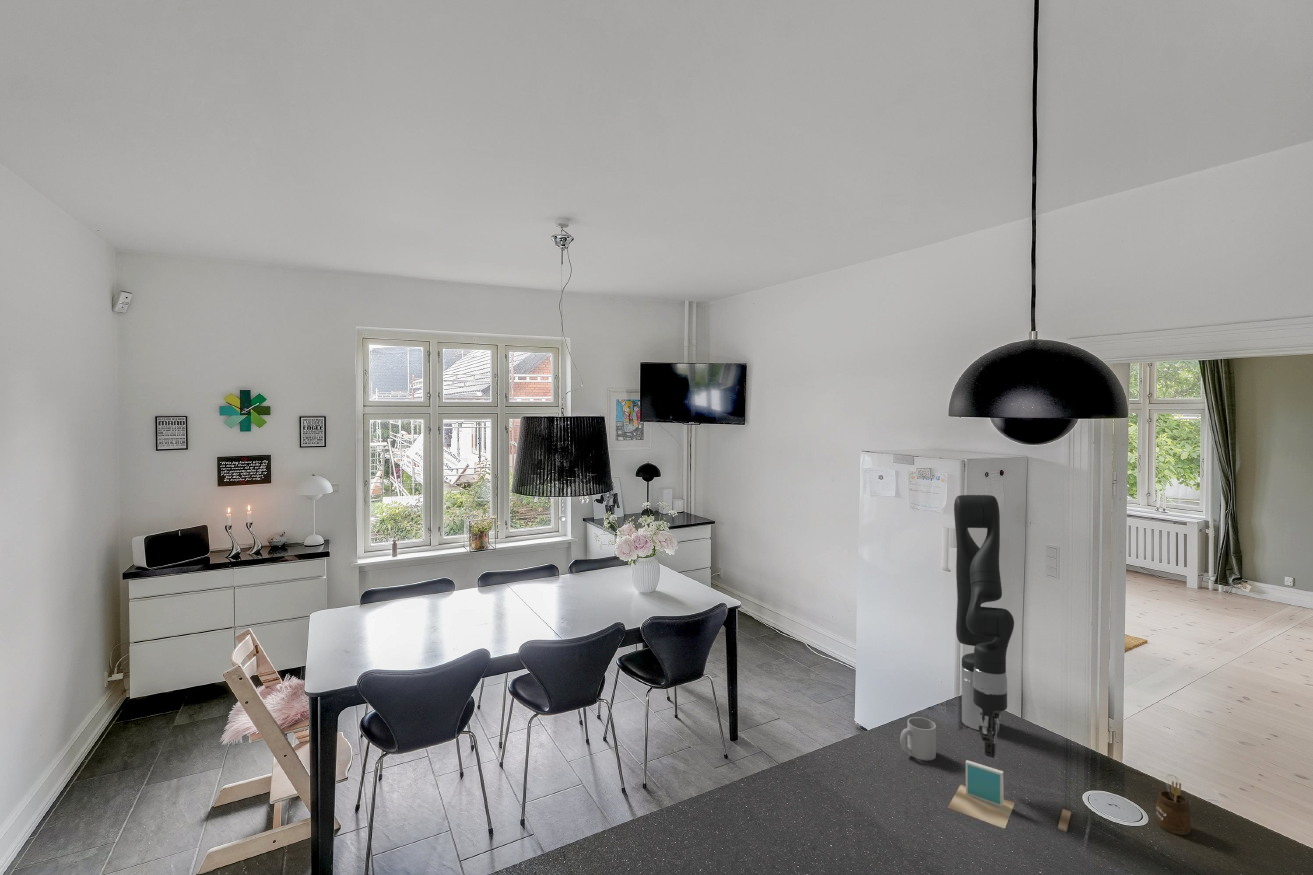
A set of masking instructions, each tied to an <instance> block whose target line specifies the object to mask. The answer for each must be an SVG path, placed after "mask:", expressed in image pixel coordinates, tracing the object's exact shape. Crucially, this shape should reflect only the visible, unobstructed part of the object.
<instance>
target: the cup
mask: <svg viewBox="0 0 1313 875" xmlns="http://www.w3.org/2000/svg"><path fill="white" fill-rule="evenodd" d="M906 722H907V723H906V724H907V726H906V728H904V729H903V730H901V733H900V738H899V741H900V742H899V743H900V746H901V749H902V751H904V752H905V753H908V755H909V757H913V758H915V759H917V760H921V761H932V760H934V759H936V757H937V726H936V723H935V722H934V721H932V720H930V719H928V718H926V717H921V716H914V717H912V716H911V717H910V718H908V719H907V721H906Z"/></svg>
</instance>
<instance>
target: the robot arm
mask: <svg viewBox="0 0 1313 875" xmlns="http://www.w3.org/2000/svg"><path fill="white" fill-rule="evenodd" d="M953 513H954V517H953V518H954V528H955V537H956V538H955V539H956V540H955V541H956V558H955V559H956V560H955V561H956V564H955V568H956V569H955V570H956V572H955V573H956V574H955V575H956V577H955V578H956V579H955V580H956V589H957V590H956V591H957V592H956V593H957V603H956V606H957V608H956V621H955V622H956V623H955V624H956V625H955V631H956V632H955V634H956V638H957V641H958V642H959V643H960V644H962V645H966V646H971V647H974V648H973V652H970V653H966V654H964V655H962V658H961V722H962V723H963V724H964V725H965V726H966V727H968V728H970V729H973V730H976V731H979V735H980V739H981V741H982V742H984V755H985V756H986V757H988V758H989V757H990V758H992V759H994V758H995V757H996V755H997V740H998V736H999V735H1000V724H1001V716H1002V712H1004V711H1006V710H1007V709H1008V678H1007V677H1008V676H1007V651H1008V646H1009V643H1010V640H1011V638H1012V634H1013V632H1014V628H1015V620H1014V616H1013V615H1012V613H1011V612H1010V611H1009V610H1008V609H1006V608H1003V607H1002V608H1000V607H989V606H981V605H983V604H985V603H991V602H996V601H998V600H1000V599H1002V596H1003V589H1002V581H1001V580H1002V579H1001V572H1000V571H1001V570H1000V549H1001V548H1000V547H1001V546H1000V545H1001V544H1000V542H1001V535H1000V534H1001V532H1000V531H1001V529H1000V527H1001V525H1000V524H1001V523H1000V522H1001V520H1000V518H1001V516H1000V506H999V502H998V499H997V498H996V497H995V496H994V495H992V494H991V495H990V494H960V495H957V496H956V497H955V499H954V503H953ZM969 529H986V536H985V539H984V541H983V543H982V545H981V546H980V547H979V546H978V544H977V543H976V542H975V541H974V539H973V537H972V535H971V533H970V532H969Z"/></svg>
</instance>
